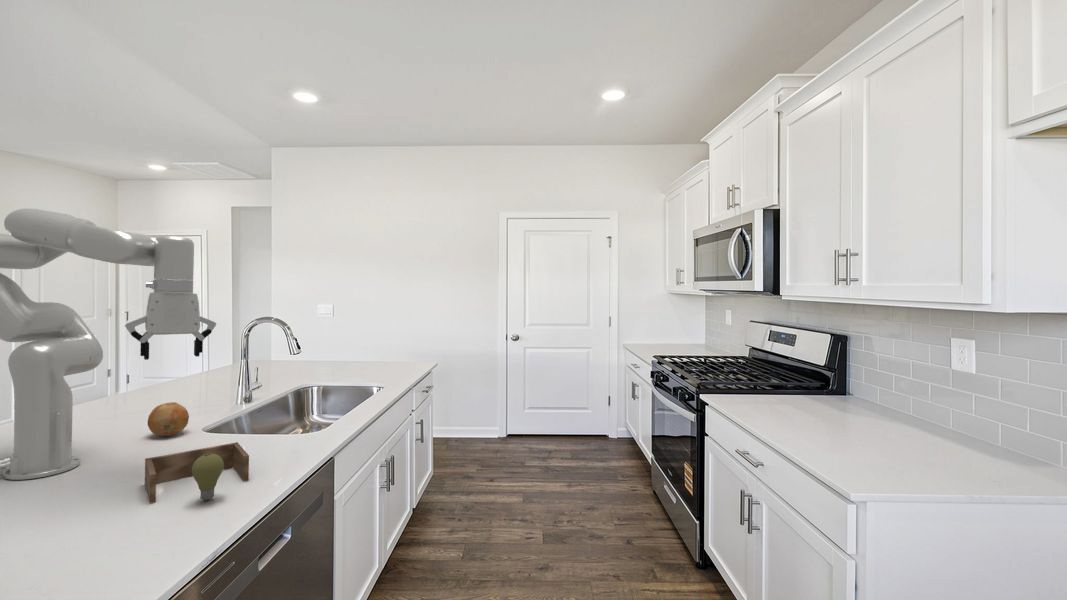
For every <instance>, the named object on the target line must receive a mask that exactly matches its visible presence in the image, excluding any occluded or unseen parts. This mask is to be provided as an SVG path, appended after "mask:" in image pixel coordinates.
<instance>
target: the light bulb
mask: <svg viewBox="0 0 1067 600" xmlns="http://www.w3.org/2000/svg"><path fill="white" fill-rule="evenodd" d="M223 467H224V462H223V460H222V458H221V457H220V456H218V455H216V454H205V455H203V456H201V457H199V458H198V459H197V460H196V461H195V462H194V464H193V466H192V475H193V476H192V477H193V478H194V480H195V482H196V484H197V487H198V489H199V491H200V492H199V493H200V498H199V499H200V500H202V501H204V502H208V501H211V499H212V498H214V496H215V488H216V486H217V483H218V480H219V478H220V477H221V474H222V473H223V470H224V469H223Z"/></svg>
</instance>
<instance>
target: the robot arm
mask: <svg viewBox="0 0 1067 600" xmlns="http://www.w3.org/2000/svg"><path fill="white" fill-rule="evenodd" d="M3 223H4V224H3V226H4V229H5V231H6V232H7V233H8V234H7V233H0V269H5V270H6V269H8V270H9V269H10V270H11V269H12V270H33V269H38V268H40V267H43V266H45V265H47V264H49V263H50V262H52V261H54V260H55V259H58V258H59V257H61V256H63V255H65V254H67V253H71V254H74V255H77V256H79V257H83V258H86V259H87V258H88V259H90V260H91V259H93V260H96V261H101V262H106V263H110V264H118V265H128V266H129V265H131V266H142V267H143V266H144V267H153V280H151V281H145V288H148V289H151V290H153V292H150V293H149V295H148V298H147V299H148V300H147V306H146V310H145V315H144V316H142V317H139V318H137V319H134V320H132V321H130V322H127V323H125V324H124V327H125V328H126V330H127V331H128V332H129V334H130V335H131V336H132V338H134V339H136V340H137V341H138V342H140V354H139V355H140V357H143V359H144V360H145V361H146V360H149V359H150V342H149V340H150V339H151V338H152V337H153V336H155V335H156V336H158V335H161V336H162V335H189V334H190V335H193V336H194V337H195V340H193V344H194V345H193V355H194V356H195V357H196V358H197V357H200V355H201V354H202V353H203V345H204V344H203V343H204V340H205V339H206V338H207V337H208V336H210V335H211V333H212V332H213V330H215V329H214V328H215V327H216V325H217V323H216V322H215V321H213V320H211V319H208V318H206V317H204V316H201V315H200V302H199V297H198V294H197V293H194V271H195V270H194V265H195V264H194V261H195V243H194V241H193V240H192V239H190V238H188V237H183V236H174V235H172V236H171V235H161V236H154V235H147V234H142V233H136V232H130V231H129V232H128V231H123V230H122V231H121V230H115V229H111V228H107V227H101V226H97V225H96V224H95V223H94V222H92V221H91V220H89V219H84V218H78V217H76V216H73V215H71V214H67V213H61V212H55V211H50V210H45V209H38V208H20V209H16V210H13V211H11V212H10V213H8V214H7V215H6V217H5V218H4V221H3ZM201 323H202V324H205V325H207V327H206V329H204V330H203V331H202V332H200V328H201ZM142 324H144V325H145V332H144V333H143V334H141V333H139V332H138V331H137V330H136V327H137V326H139V325H142ZM0 340H1V341H4V342H7V343H23V344H20V345H19V346H17V347H16V348H15V349H13V350H12V352H11V353H10V355H9V356H8V361H7V366H8V370H9V373H10V374H9V375H10V378H11V381H12V386H13V387H12V388H13V394H14V395H13V396H14V397H13V398H14V399H13V400H14V401H13V403H14V405H13V410H14V415H13V417H14V419H13V420H14V421H13V422H14V427H13V428H14V429H13V430H14V431H13V432H14V433H13V452H12V454H11V456H6V457H5V458H1V459H0V470H3V474H2V477H3V478H4V479H6V480H12V481H20V480H21V481H23V480H32V479H38V478H44V477H50V476H53V475H57V474H61V473H65V472H67V471H70V470H72V469H75V468H76V467H78V466H79V465H80V464H81V457H79V456H77V455H73V454H72V453H73V452H72V451H73V446H72V445H73V406H74V405H73V393H72V392H73V391H72V388H71V387H70V386H69V383H68V382H67V381H66V379H65V378H64V377H67V376H71V375H77V374H81V373H85V372H89V371H91V370H93V369H96V368H97V367H99V365H100V364H101V363H102V361H103V358H104V351H103V348H102V345H101V343H100V342H99V340H98V338H96V336H95V335H94V333H93V332H92V331H91V329H90V328H89V327H88V326H87V324H86V323H85V322H84V320H83V319H82V317H81V315H79V314H78V313H77V311H76V310H75V309H73V308H72V307H70V306H69V305H66V304H63V303H60V302H53V301H51V302H42V301H41V302H36V301H33V300H32V299H30V298H29V297H28V296H27V294H26V293H25V292H24V290H23V289H22V287H20V285H19V284H17V282H15V281H14V280H13V279H12V278H10V277H8V276H7V275H5V274H3V273H1V272H0ZM24 342H26V343H24ZM200 353H201V354H200Z"/></svg>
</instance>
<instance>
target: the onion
mask: <svg viewBox="0 0 1067 600" xmlns="http://www.w3.org/2000/svg"><path fill="white" fill-rule="evenodd" d="M189 418H190V414H189V412H188V409H187V408H186V407H185V406H183V405H182V404H180V403H177V402H172V401H170V402H166V403H162V404H159V405H157V406H155V407H154V408H153V409H152V410H151V412H150V414H149V415H148V418H147V427H148V429H149V431H150V432H151V433H152V434H154V435H155V436H159V437H171V436H174V435H177V434H179V433H181V432H182V431H183V430H184V429H185V428H186V427H187V425H188V423H189Z"/></svg>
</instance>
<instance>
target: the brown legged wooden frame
mask: <svg viewBox="0 0 1067 600" xmlns="http://www.w3.org/2000/svg"><path fill="white" fill-rule="evenodd" d="M205 454H216V455H218V456H220V457H221V458H222V460H223V462H224V467H223V470H227V469H232V467H233V470H234V471H235V470H236V471H235V472H236V473H237V475H238V476H239V477H240V479H241V480H242V482H248V481H249V471H250V455H249V454H248V452H246V450H245V449H244V448H243V446H241V444H240V443H238V441H236V442H231V443H226V444H221V445H220V444H219V445H215V446H209V447H208V446H207V447H204V448H198V449H197V448H196V449H193V450H187V451H180V452H175V453H170V454H164V455H159V456H154V457H153V456H152V457H145V460H144V488H145V487H146V488H145V490H146V491H147V492H146V494H147V495H148V496H147V495H146V496H147V499H148V502H149V504H152V503H153V502H154V503H156V502H157V498H156V497H157V484H161V483H165V482H171V481H176V480H179V479H185V478H190V477H193V475H192V466H193V464H194V462H195V461H196V460H197V459H198V458H199V457H201V456H203V455H205ZM156 483H157V484H156Z"/></svg>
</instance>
